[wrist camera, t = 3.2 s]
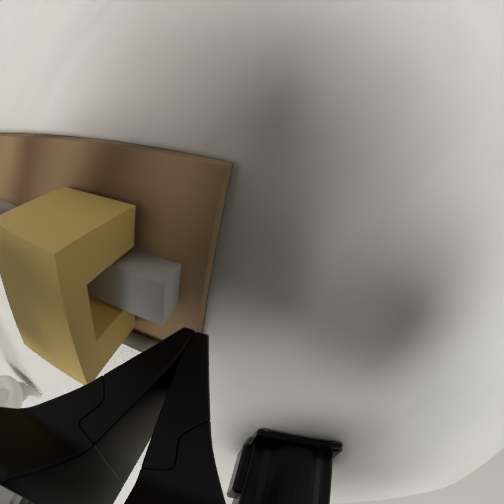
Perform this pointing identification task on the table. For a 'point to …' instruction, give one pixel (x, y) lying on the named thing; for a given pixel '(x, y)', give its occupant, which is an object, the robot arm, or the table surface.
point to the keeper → (66, 277)
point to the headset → (15, 392)
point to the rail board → (146, 220)
